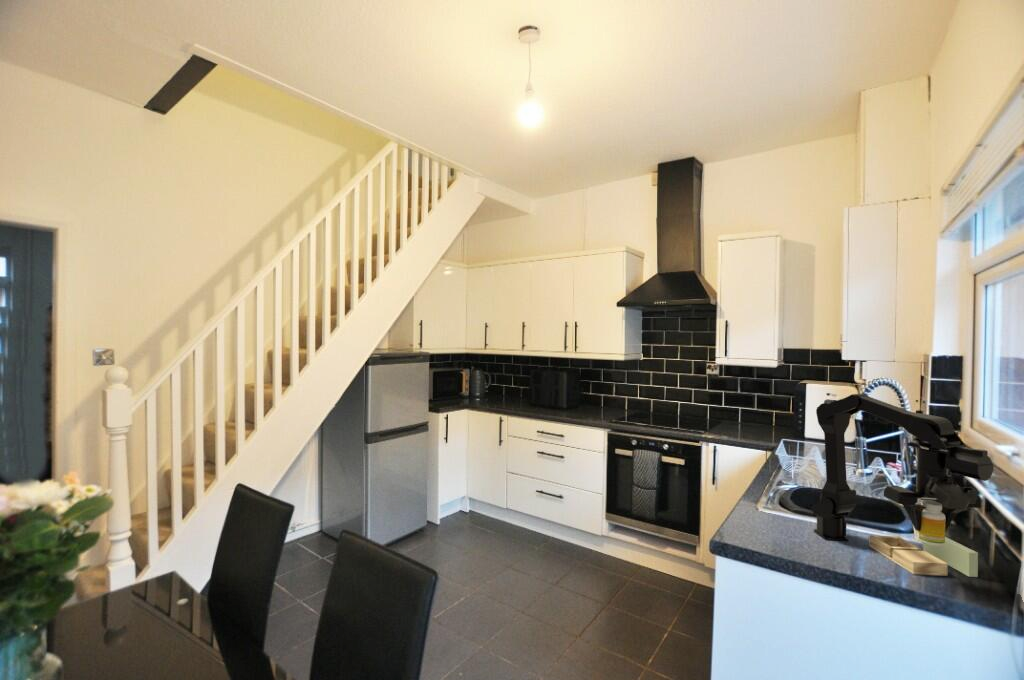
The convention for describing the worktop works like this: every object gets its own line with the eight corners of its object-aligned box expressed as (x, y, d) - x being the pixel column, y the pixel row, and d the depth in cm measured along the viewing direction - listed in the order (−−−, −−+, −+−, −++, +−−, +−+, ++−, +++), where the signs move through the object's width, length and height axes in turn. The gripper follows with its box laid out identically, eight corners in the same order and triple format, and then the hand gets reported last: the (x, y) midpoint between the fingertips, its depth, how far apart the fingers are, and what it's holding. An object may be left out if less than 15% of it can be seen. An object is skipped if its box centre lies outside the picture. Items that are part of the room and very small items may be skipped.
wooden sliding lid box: (913, 574, 116) (913, 562, 116) (869, 545, 132) (869, 535, 132) (947, 575, 116) (947, 563, 116) (899, 547, 132) (899, 536, 132)
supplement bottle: (950, 547, 112) (951, 507, 112) (924, 545, 113) (925, 505, 113) (935, 537, 117) (936, 499, 117) (910, 535, 118) (911, 497, 118)
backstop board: (968, 576, 115) (969, 552, 115) (923, 551, 129) (923, 529, 129) (977, 577, 115) (977, 552, 115) (931, 551, 129) (931, 529, 129)
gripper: (917, 476, 108) (915, 543, 108) (1005, 480, 106) (1002, 548, 106) (883, 463, 119) (881, 524, 119) (962, 466, 117) (959, 527, 117)
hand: (930, 531), depth 115 cm, fingers closed on supplement bottle, 5 cm apart
